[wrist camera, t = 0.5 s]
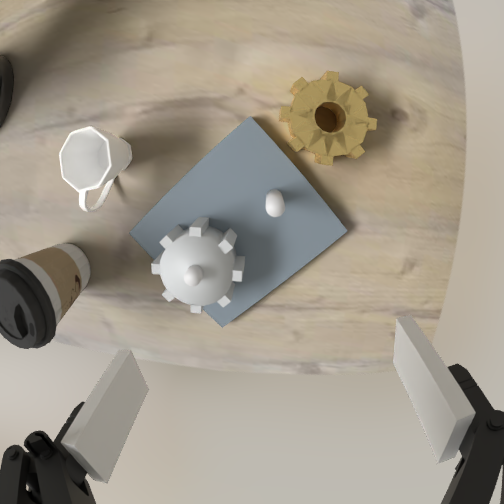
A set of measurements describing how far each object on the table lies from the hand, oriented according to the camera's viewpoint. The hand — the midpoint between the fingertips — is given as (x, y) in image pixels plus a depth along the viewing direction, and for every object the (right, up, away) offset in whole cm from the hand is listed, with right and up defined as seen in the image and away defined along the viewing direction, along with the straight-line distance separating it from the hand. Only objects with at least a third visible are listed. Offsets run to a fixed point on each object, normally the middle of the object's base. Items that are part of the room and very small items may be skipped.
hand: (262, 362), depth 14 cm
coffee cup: (-27, +3, +26) cm, 38 cm away
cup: (-17, +16, +21) cm, 32 cm away
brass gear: (+8, +20, +18) cm, 28 cm away
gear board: (-2, +8, +23) cm, 25 cm away
